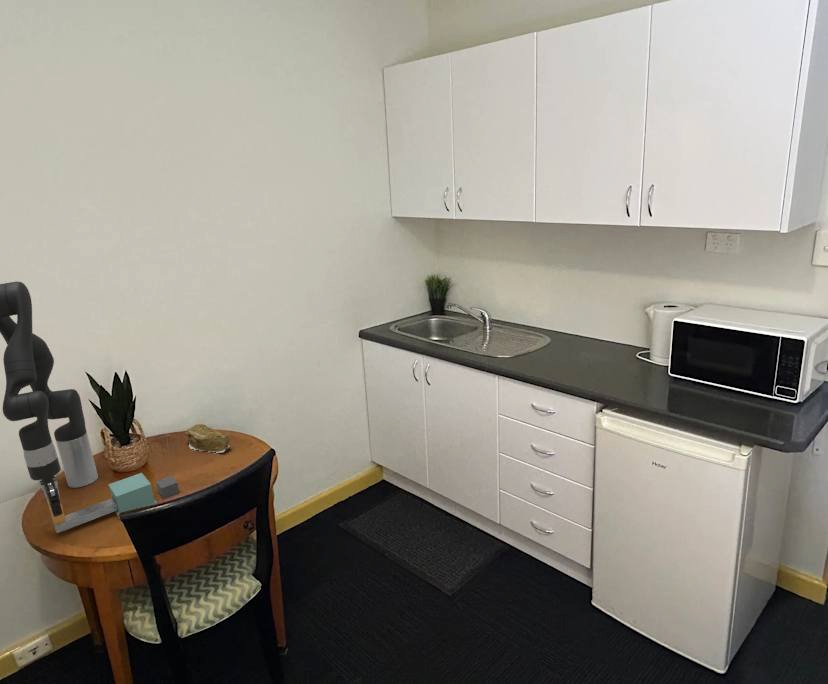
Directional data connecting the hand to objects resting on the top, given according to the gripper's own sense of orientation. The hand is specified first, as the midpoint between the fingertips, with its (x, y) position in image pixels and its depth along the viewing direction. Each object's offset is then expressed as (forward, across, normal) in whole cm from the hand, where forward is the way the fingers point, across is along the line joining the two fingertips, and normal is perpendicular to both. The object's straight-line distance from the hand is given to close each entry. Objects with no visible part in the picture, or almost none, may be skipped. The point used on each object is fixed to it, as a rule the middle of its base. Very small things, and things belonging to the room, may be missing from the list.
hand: (57, 511), depth 169 cm
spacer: (+5, 0, +28) cm, 28 cm away
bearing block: (+7, 0, +20) cm, 21 cm away
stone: (+8, -23, +53) cm, 58 cm away
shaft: (+5, 0, +10) cm, 11 cm away
